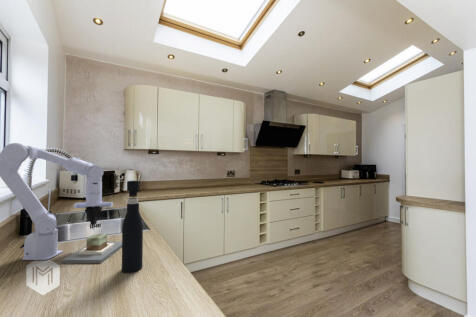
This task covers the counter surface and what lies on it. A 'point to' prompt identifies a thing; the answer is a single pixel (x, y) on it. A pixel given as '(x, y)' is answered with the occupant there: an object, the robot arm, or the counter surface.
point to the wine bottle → (132, 232)
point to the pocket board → (93, 254)
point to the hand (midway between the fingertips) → (93, 224)
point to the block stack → (96, 242)
